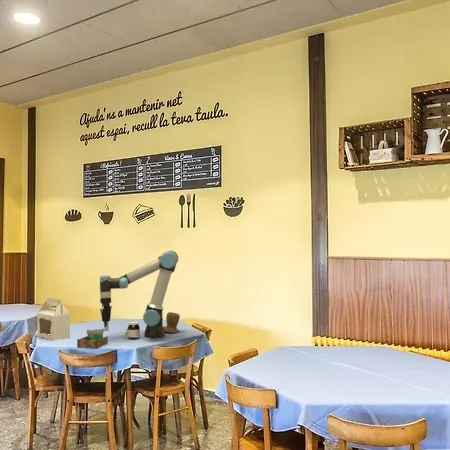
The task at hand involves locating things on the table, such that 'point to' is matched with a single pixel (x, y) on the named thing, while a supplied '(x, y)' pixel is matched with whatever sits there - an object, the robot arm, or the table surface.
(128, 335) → the spread jar
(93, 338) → the food container
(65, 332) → the gable box
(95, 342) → the walnut pen
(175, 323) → the brown ankle boot
